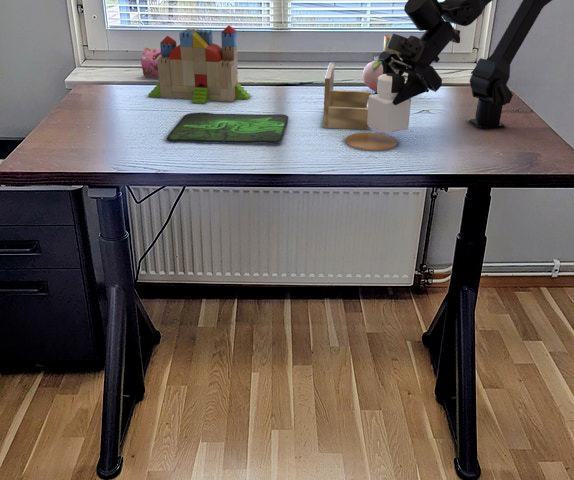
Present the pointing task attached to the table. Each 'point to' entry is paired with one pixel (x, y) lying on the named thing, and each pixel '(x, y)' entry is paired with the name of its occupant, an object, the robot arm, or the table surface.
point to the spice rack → (344, 106)
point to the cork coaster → (371, 141)
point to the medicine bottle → (388, 105)
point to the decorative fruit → (372, 74)
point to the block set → (199, 67)
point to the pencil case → (150, 62)
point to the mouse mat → (230, 128)
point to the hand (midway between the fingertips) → (384, 99)
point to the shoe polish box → (386, 41)
